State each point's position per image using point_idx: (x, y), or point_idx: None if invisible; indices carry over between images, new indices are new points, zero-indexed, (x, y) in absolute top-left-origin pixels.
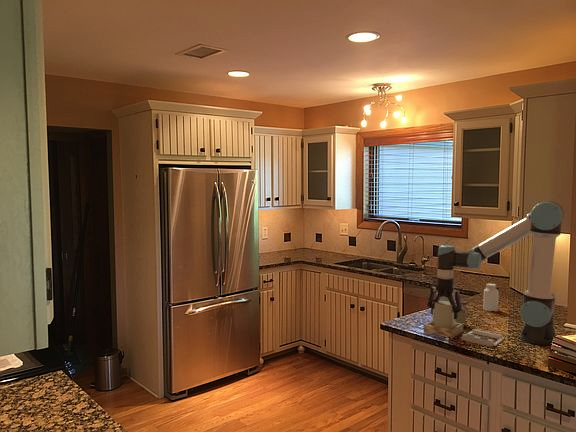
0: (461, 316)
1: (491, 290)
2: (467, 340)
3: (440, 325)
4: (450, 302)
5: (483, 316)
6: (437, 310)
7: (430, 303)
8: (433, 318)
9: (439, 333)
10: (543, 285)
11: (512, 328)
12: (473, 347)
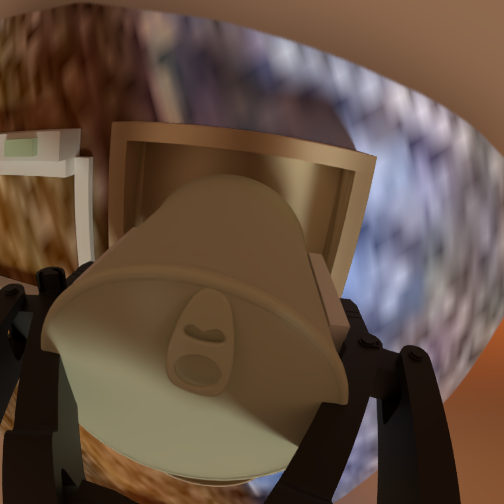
0: None
1: None
2: (51, 129)
3: (228, 181)
4: (46, 382)
5: (172, 487)
6: (265, 244)
7: (402, 382)
8: (318, 268)
9: (228, 128)
10: None
11: None
12: (20, 57)
